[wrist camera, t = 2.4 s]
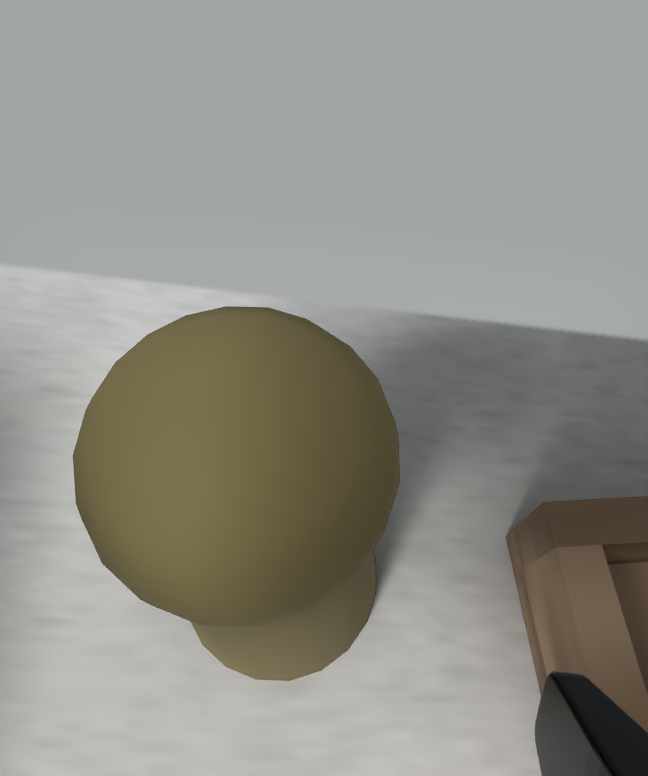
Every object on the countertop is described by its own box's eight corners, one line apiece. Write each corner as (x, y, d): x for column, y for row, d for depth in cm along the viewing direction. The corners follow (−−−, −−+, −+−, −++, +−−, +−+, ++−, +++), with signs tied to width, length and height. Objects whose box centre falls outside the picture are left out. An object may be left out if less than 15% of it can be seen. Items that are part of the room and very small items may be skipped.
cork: (326, 453, 19) (330, 206, 10) (412, 622, 16) (535, 511, 7) (158, 526, 18) (-29, 324, 8) (222, 722, 15) (51, 755, 6)
